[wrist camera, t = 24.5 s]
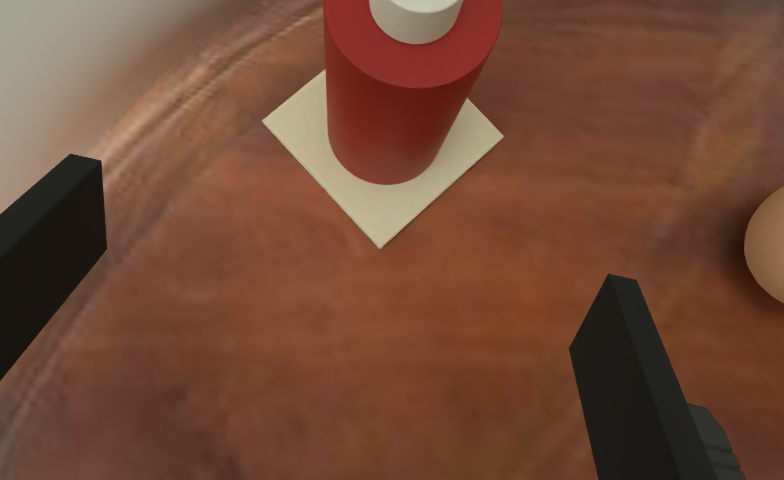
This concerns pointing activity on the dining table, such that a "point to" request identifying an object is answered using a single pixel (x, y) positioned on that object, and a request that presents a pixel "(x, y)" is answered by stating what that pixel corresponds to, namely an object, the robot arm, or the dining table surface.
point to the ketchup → (400, 78)
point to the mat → (368, 200)
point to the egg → (767, 245)
